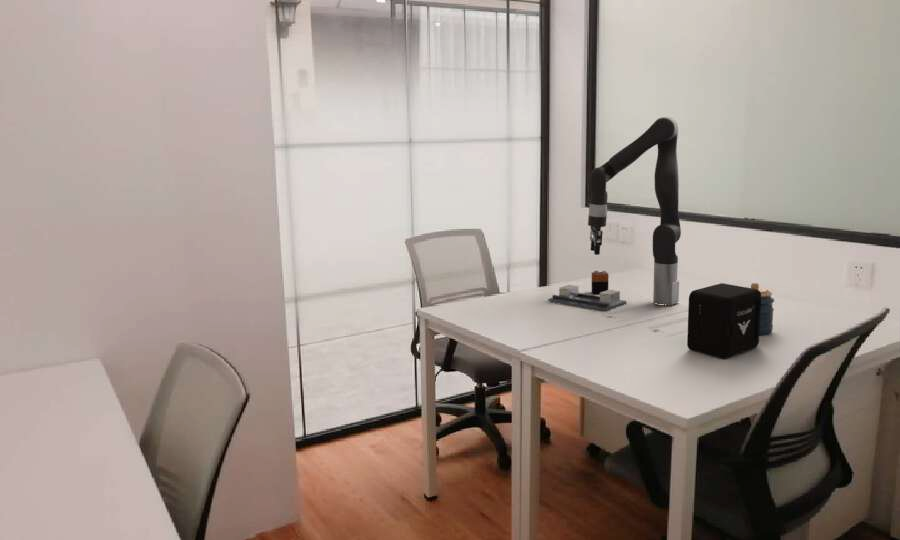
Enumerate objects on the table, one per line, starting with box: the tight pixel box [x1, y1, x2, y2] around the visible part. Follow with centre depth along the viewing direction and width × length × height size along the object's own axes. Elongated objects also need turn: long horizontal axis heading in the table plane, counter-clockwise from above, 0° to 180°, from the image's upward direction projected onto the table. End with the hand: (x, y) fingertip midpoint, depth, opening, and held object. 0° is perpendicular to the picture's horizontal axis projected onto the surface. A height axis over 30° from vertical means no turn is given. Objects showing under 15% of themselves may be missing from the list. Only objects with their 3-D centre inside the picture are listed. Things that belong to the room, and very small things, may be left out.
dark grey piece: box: [547, 289, 627, 313], centre depth 303 cm, size 28×16×6 cm, turn 46°
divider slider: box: [558, 284, 580, 298], centre depth 308 cm, size 5×10×4 cm, turn 136°
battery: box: [591, 270, 609, 295], centre depth 319 cm, size 4×7×10 cm, turn 88°
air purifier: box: [686, 282, 761, 359], centre depth 235 cm, size 20×15×20 cm
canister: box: [746, 282, 775, 337], centre depth 255 cm, size 13×13×18 cm
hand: (594, 252), depth 308 cm, fingers open, 8 cm apart
